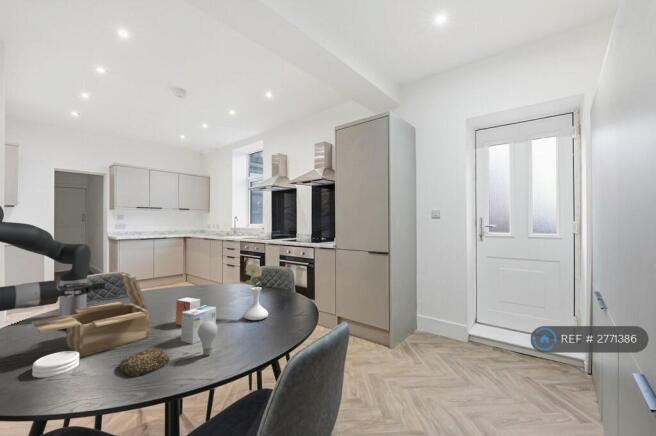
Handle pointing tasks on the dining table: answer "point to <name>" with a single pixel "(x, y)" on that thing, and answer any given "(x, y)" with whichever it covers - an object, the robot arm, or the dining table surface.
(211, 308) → the light bulb box
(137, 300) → the carton flap
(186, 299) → the small box
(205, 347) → the lightbulb
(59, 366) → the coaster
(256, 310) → the flower in vase
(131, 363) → the bread roll
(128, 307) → the carton
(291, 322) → the dining table surface
